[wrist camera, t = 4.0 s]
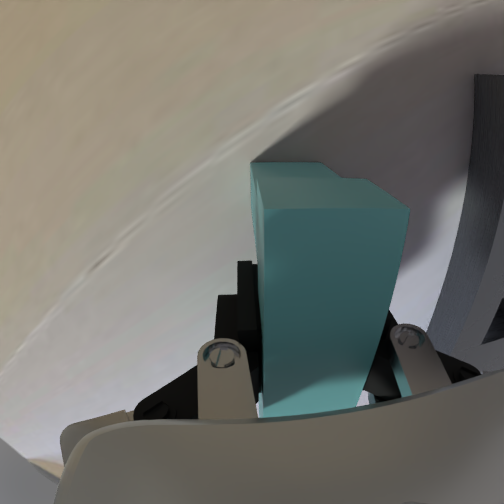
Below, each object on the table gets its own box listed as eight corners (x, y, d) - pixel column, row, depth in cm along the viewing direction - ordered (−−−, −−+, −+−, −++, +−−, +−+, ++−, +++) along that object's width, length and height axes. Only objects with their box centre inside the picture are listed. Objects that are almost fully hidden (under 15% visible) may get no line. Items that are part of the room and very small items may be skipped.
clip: (250, 150, 12) (264, 209, 6) (321, 151, 12) (410, 209, 6) (254, 337, 17) (262, 459, 10) (307, 334, 17) (336, 450, 10)
